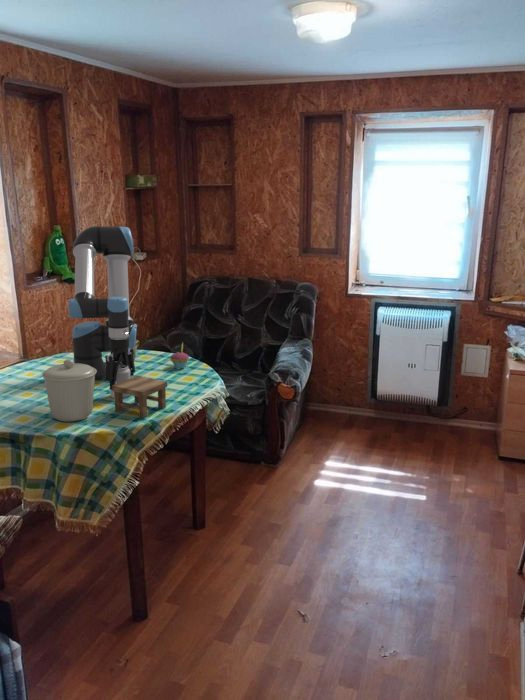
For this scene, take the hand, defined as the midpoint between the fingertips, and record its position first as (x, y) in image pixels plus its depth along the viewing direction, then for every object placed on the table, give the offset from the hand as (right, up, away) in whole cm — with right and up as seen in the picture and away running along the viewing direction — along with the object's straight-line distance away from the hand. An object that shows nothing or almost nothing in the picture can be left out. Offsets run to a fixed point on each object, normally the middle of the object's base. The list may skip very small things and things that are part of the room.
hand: (121, 394), depth 227 cm
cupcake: (+17, +9, +40) cm, 44 cm away
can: (0, -1, 0) cm, 1 cm away
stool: (+11, -5, -14) cm, 18 cm away
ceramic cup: (-8, +12, +47) cm, 49 cm away
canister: (-12, -6, -22) cm, 26 cm away
